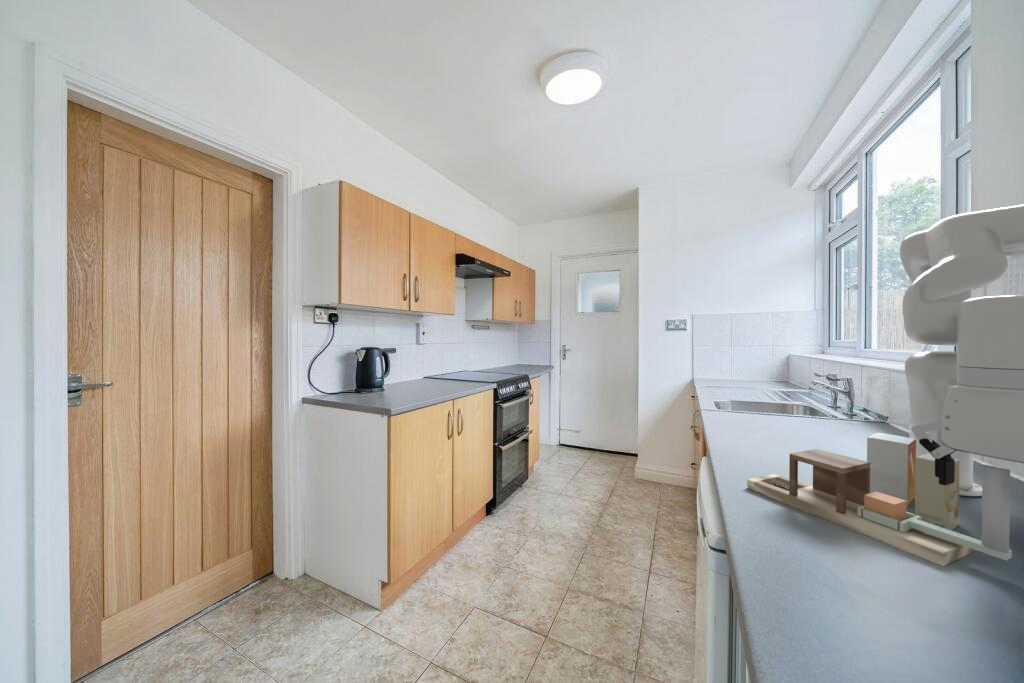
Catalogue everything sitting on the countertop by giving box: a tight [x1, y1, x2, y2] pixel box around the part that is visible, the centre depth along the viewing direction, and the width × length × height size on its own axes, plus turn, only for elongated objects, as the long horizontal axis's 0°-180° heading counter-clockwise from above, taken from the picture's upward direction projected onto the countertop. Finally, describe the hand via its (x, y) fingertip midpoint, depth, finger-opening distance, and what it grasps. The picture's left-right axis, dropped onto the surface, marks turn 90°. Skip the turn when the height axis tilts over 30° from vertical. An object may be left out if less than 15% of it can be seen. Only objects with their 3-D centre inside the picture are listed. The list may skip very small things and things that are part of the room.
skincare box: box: [914, 454, 960, 531], centre depth 66 cm, size 6×4×12 cm
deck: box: [746, 473, 974, 567], centre depth 69 cm, size 10×30×2 cm, turn 22°
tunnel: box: [788, 448, 870, 514], centre depth 71 cm, size 9×9×8 cm
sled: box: [857, 464, 1013, 561], centre depth 58 cm, size 6×16×13 cm, turn 22°
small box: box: [866, 432, 916, 507], centre depth 77 cm, size 8×6×13 cm
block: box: [864, 492, 908, 523], centre depth 63 cm, size 4×4×4 cm
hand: (996, 496), depth 52 cm, fingers open, 9 cm apart
